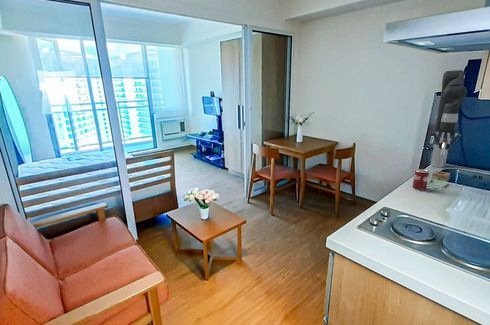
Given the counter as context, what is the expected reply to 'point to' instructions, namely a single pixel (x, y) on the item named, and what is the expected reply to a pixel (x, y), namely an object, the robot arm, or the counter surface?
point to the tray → (437, 184)
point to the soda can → (420, 179)
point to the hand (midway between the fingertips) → (443, 149)
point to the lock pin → (443, 149)
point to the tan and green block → (441, 176)
